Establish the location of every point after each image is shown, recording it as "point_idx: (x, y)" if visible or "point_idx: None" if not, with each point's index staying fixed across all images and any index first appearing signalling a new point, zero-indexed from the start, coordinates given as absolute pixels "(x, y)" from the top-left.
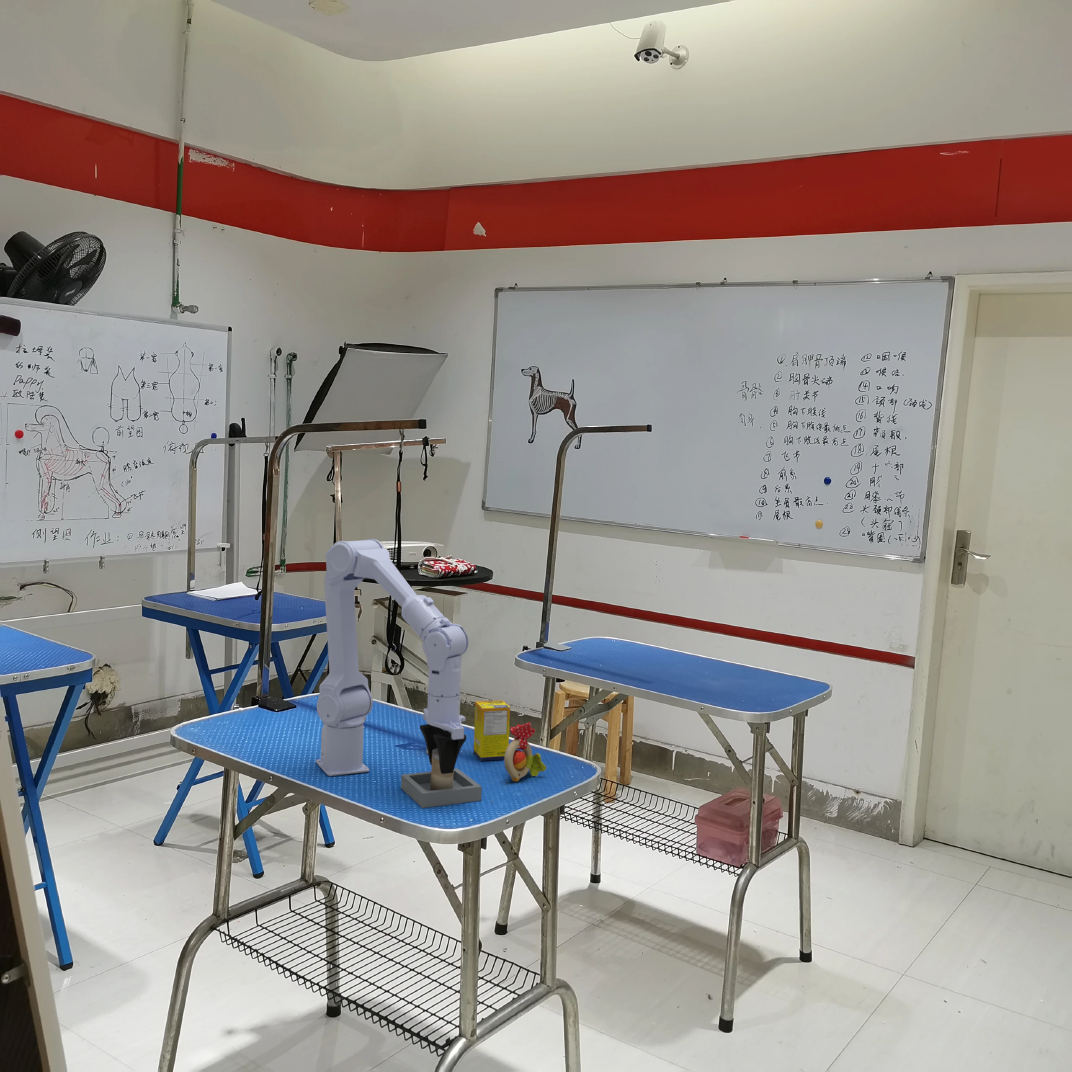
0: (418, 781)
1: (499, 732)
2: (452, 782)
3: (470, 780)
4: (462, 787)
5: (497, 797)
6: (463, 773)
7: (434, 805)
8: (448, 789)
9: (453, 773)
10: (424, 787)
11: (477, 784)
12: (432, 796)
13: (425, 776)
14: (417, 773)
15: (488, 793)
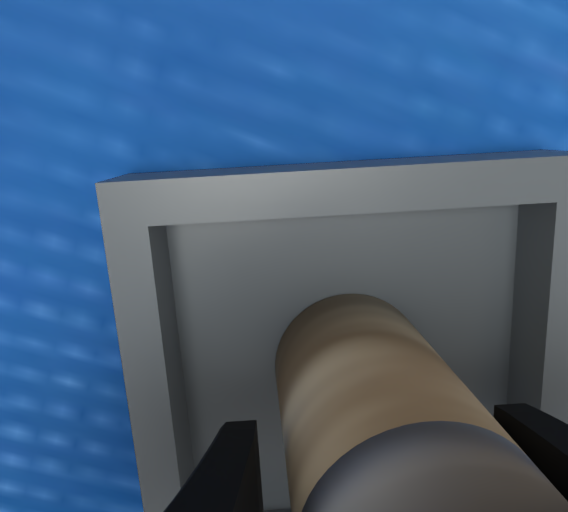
0: (190, 467)
1: None
2: (415, 330)
3: (429, 186)
4: (562, 303)
5: (531, 9)
6: (239, 180)
7: None
8: (556, 406)
9: (429, 352)
10: (270, 442)
11: (545, 167)
12: None
13: (178, 442)
14: (152, 500)
15: (430, 42)
